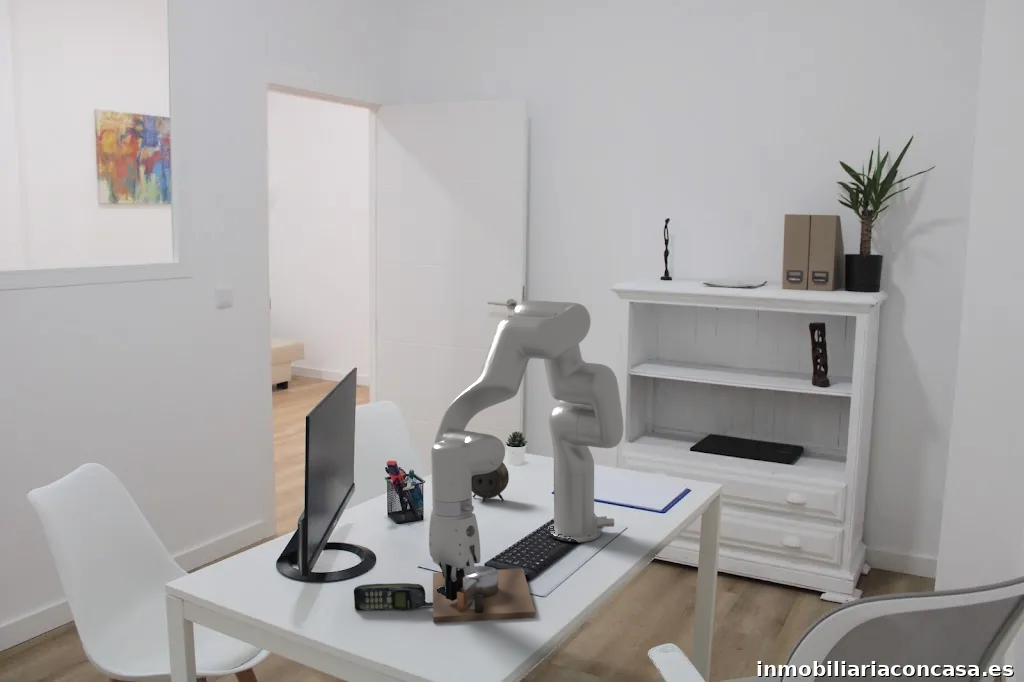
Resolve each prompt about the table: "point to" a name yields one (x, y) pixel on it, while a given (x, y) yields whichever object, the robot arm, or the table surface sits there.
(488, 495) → the alarm clock
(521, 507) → the table surface
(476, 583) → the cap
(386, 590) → the mobile phone
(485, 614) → the plinth
